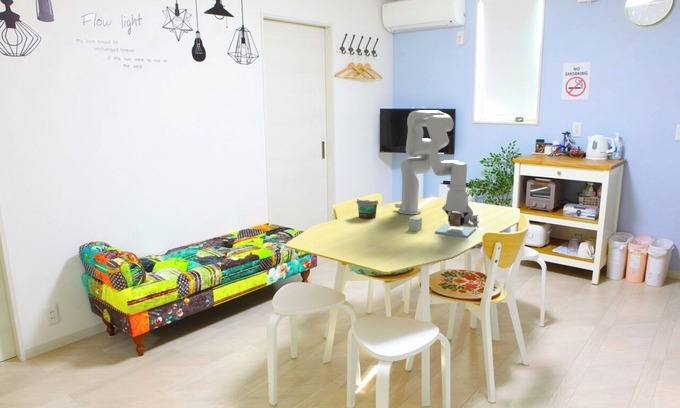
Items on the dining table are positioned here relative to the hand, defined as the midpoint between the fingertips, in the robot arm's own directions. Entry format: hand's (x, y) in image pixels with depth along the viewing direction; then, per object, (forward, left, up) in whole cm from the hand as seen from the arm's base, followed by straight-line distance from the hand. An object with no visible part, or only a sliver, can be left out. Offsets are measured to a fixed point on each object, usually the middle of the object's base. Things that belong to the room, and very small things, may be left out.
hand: (456, 223), depth 248 cm
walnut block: (0, 0, -1) cm, 1 cm away
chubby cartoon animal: (+1, +19, -4) cm, 20 cm away
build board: (0, 0, -4) cm, 4 cm away
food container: (-51, +3, -4) cm, 51 cm away
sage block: (-19, -6, -4) cm, 20 cm away
